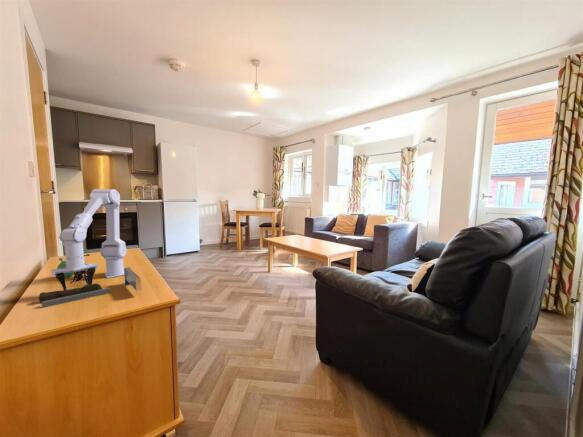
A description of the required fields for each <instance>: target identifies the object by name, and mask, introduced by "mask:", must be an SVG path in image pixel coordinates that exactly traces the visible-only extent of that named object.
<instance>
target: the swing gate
mask: <svg viewBox="0 0 583 437" xmlns="http://www.w3.org/2000/svg"><path fill="white" fill-rule="evenodd" d="M123 276H124V283H125V284H131V285H130V286H132V288H133V289H134V290H135V291H136V292H139V291H142V278H141V277H140V276H139V275H137V273H135V271H134V270H132V269H131V267H130V266H128V267H124V275H123Z"/></svg>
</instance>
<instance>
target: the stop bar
mask: <svg viewBox="0 0 583 437" xmlns="http://www.w3.org/2000/svg"><path fill="white" fill-rule="evenodd" d="M110 293H111V288H110V287H106V288H102V289H100V290H96V291H91V292H86V293H81V294H76V295H71V296H66V297H61V298H57V299H52V300H47V301H42V303H41V308H47V307H51V306H55V305H60V304H61V305H62V304H64V303H69V302H73V301H79V300H84V299H89V298H92V297H97V296H102V295H107V294H110Z"/></svg>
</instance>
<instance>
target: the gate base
mask: <svg viewBox="0 0 583 437" xmlns="http://www.w3.org/2000/svg"><path fill="white" fill-rule="evenodd" d="M127 286H132V285H131V284H125V282H122V287H127Z"/></svg>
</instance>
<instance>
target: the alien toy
mask: <svg viewBox="0 0 583 437" xmlns="http://www.w3.org/2000/svg"><path fill="white" fill-rule="evenodd" d="M58 260H59V261H60V263H59V264H58V265H57V267H56V269H60V268H65V267H66V260H63V257H60V258H58ZM64 275H65V279H67V278H71V277H73V276H74V275H75V274H74V272H70V273H64Z"/></svg>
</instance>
